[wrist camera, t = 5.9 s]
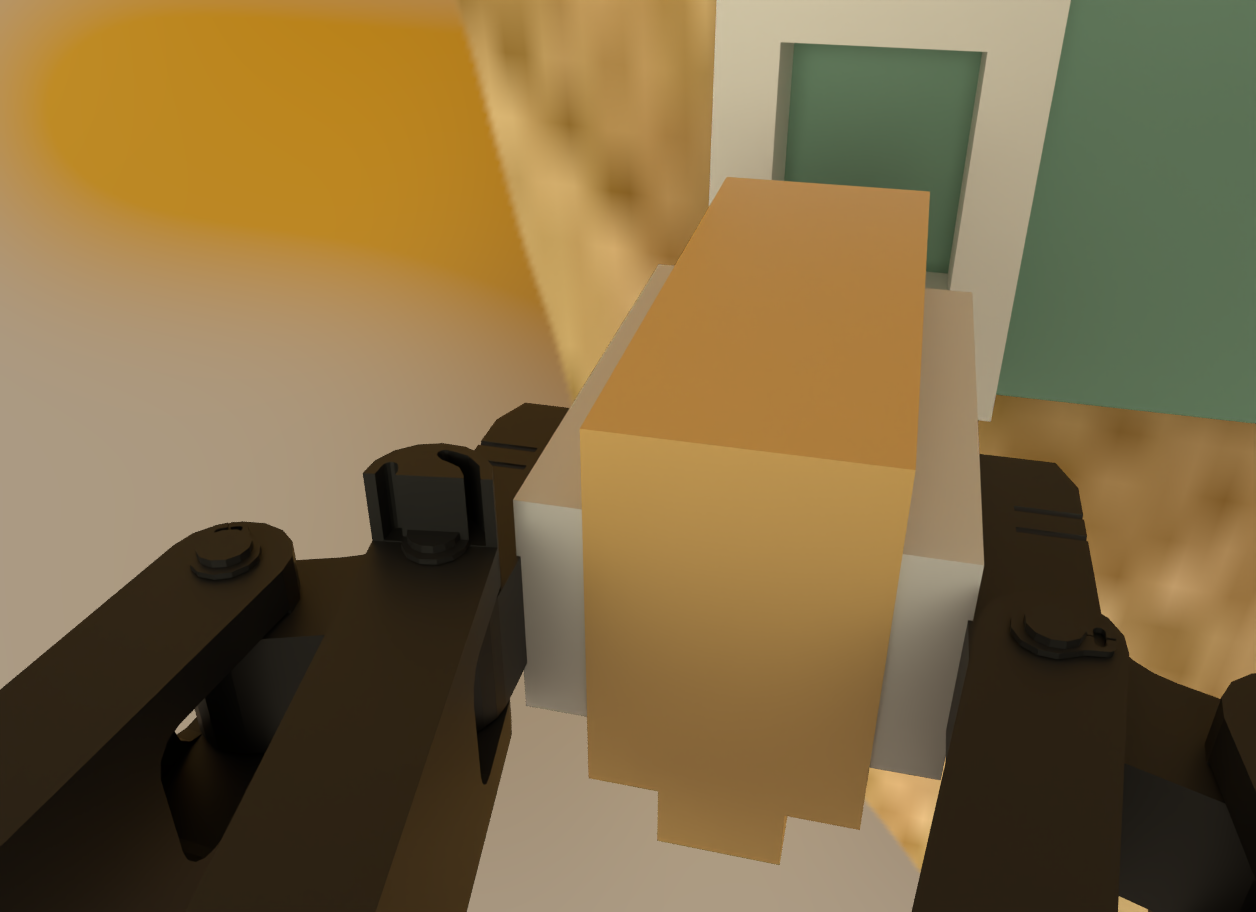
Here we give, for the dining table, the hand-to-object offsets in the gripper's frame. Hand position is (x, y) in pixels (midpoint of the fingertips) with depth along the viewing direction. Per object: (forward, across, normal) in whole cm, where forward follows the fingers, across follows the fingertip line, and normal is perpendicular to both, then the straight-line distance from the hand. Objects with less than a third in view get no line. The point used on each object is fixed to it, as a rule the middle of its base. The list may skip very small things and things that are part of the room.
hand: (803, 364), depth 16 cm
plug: (+1, 0, 0) cm, 1 cm away
